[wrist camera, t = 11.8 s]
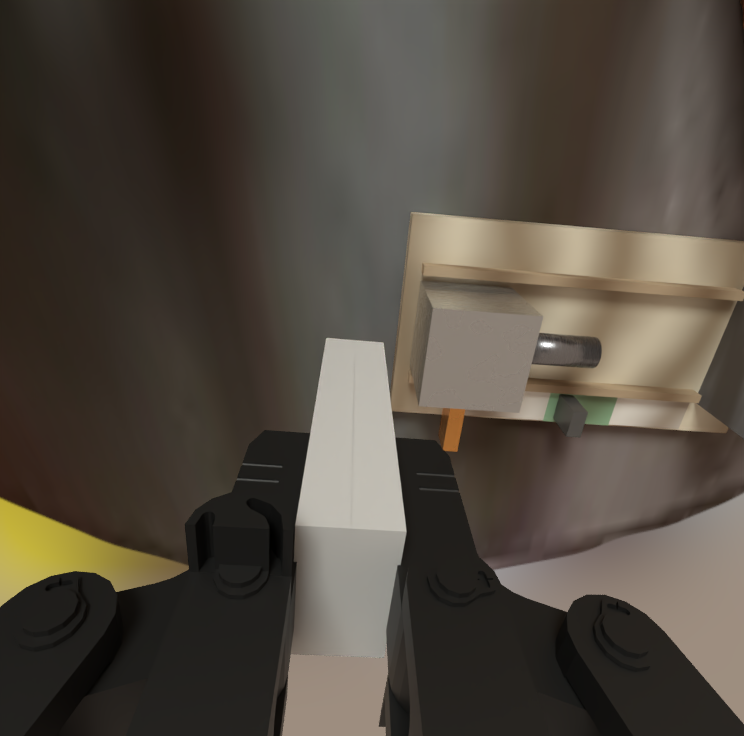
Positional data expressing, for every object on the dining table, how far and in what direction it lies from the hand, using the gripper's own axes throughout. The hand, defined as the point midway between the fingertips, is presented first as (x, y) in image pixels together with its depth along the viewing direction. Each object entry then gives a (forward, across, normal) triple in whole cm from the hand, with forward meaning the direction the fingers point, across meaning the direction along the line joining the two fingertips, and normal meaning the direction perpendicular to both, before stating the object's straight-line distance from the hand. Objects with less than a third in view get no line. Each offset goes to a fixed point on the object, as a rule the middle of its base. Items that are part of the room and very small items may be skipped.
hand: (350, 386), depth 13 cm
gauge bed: (+20, +16, -4) cm, 26 cm away
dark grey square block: (+18, +16, -10) cm, 26 cm away
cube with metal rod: (+18, +10, -7) cm, 22 cm away
